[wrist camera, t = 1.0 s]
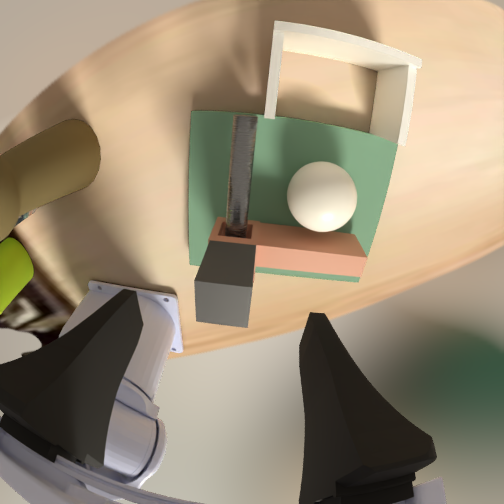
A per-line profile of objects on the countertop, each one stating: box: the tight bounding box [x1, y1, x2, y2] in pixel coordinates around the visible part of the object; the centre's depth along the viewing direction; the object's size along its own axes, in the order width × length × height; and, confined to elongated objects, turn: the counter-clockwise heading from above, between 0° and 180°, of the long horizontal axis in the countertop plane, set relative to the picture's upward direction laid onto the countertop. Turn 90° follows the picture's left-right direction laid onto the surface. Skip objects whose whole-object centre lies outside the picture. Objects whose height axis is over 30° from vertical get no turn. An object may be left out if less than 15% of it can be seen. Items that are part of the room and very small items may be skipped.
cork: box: [0, 119, 101, 241], centre depth 13 cm, size 6×6×11 cm
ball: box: [287, 161, 357, 232], centre depth 15 cm, size 4×4×4 cm
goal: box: [264, 21, 422, 146], centre depth 12 cm, size 7×5×5 cm
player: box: [194, 217, 367, 328], centre depth 15 cm, size 9×2×7 cm, turn 85°
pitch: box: [189, 110, 398, 282], centre depth 18 cm, size 13×11×1 cm
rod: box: [225, 115, 258, 238], centre depth 16 cm, size 1×11×3 cm, turn 175°
